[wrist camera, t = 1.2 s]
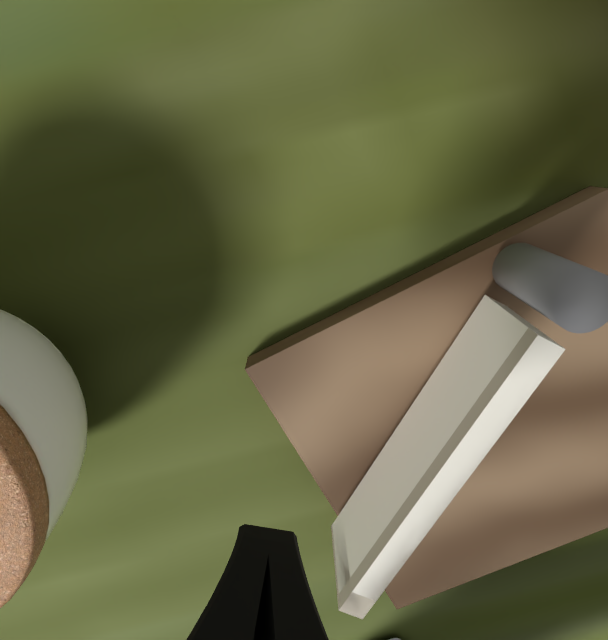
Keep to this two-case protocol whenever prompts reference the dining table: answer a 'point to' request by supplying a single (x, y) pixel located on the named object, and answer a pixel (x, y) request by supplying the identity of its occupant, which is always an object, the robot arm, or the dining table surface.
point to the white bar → (459, 417)
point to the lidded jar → (34, 445)
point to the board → (413, 373)
